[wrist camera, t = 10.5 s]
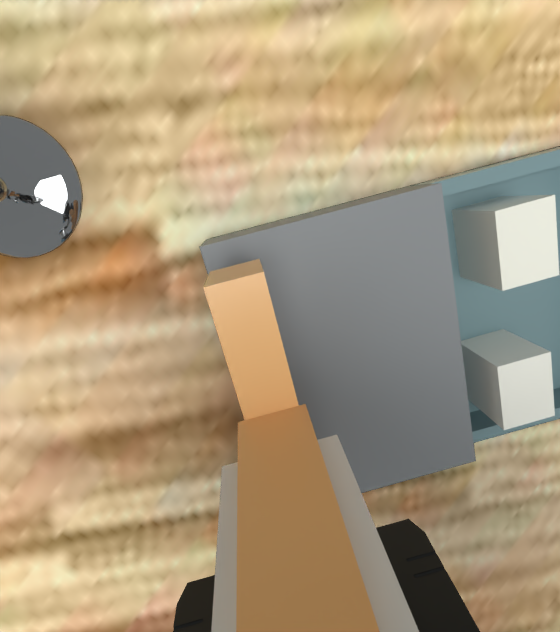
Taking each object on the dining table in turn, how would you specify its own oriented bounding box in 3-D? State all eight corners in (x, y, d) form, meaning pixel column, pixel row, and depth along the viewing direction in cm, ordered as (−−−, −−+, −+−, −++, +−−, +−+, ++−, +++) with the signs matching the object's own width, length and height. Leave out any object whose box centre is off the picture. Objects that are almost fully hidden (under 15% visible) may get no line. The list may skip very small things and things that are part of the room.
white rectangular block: (460, 276, 24) (507, 263, 24) (502, 291, 20) (559, 275, 20) (451, 210, 23) (501, 196, 23) (494, 211, 19) (555, 194, 19)
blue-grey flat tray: (583, 385, 27) (616, 402, 25) (445, 423, 27) (465, 445, 25) (577, 141, 23) (616, 134, 20) (410, 185, 23) (430, 183, 20)
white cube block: (465, 396, 26) (508, 384, 26) (504, 430, 22) (554, 415, 22) (457, 341, 25) (503, 329, 25) (497, 366, 21) (550, 351, 21)
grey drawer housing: (442, 424, 27) (475, 460, 23) (276, 471, 27) (282, 515, 23) (407, 186, 23) (441, 182, 19) (206, 239, 22) (199, 246, 18)
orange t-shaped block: (335, 530, 20) (445, 906, 9) (287, 543, 20) (342, 939, 9) (265, 257, 16) (319, 373, 5) (203, 273, 16) (128, 425, 5)
